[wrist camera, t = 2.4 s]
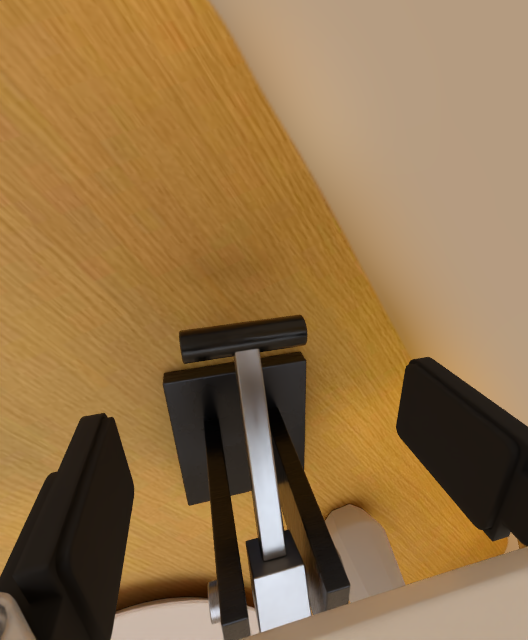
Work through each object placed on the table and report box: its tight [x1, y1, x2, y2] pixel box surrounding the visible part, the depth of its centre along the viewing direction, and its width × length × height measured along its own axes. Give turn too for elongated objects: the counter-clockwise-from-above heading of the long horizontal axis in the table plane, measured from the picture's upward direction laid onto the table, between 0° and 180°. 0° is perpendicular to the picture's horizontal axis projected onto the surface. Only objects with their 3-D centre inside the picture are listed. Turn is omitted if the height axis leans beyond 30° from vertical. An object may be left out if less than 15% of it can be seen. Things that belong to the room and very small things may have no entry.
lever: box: [179, 315, 312, 633], centre depth 14 cm, size 13×6×2 cm, turn 2°
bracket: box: [163, 352, 351, 640], centre depth 18 cm, size 11×9×12 cm
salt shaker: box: [325, 504, 405, 603], centre depth 25 cm, size 6×6×13 cm
